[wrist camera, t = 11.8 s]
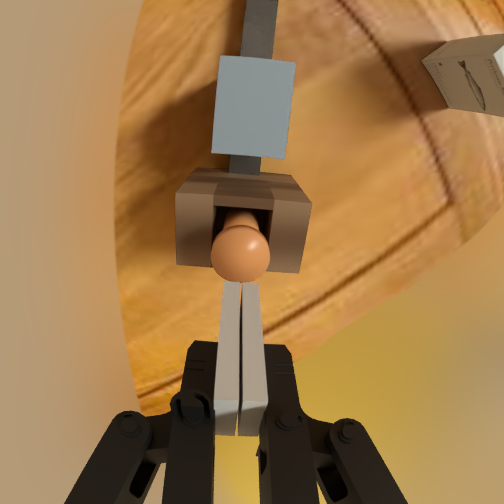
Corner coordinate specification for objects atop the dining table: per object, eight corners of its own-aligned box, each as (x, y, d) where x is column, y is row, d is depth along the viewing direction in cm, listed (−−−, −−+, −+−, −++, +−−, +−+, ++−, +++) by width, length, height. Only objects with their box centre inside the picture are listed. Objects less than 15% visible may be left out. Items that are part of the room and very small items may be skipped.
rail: (247, -61, 15) (248, -77, 11) (291, -56, 15) (297, -72, 12) (220, 168, 29) (216, 176, 25) (267, 172, 29) (271, 181, 25)
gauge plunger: (219, 198, 23) (211, 228, 17) (266, 202, 23) (273, 233, 17) (217, 240, 24) (210, 280, 19) (261, 243, 25) (266, 284, 19)
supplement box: (418, 60, 22) (491, 51, 11) (448, 40, 20) (516, 31, 9) (447, 110, 25) (521, 123, 14) (475, 87, 23) (543, 95, 11)
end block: (196, 167, 28) (175, 192, 20) (290, 175, 29) (312, 203, 20) (195, 220, 31) (176, 264, 22) (283, 226, 32) (298, 273, 23)
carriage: (226, 75, 24) (217, 55, 15) (280, 80, 24) (298, 63, 15) (220, 140, 27) (208, 152, 18) (273, 145, 27) (287, 159, 18)
